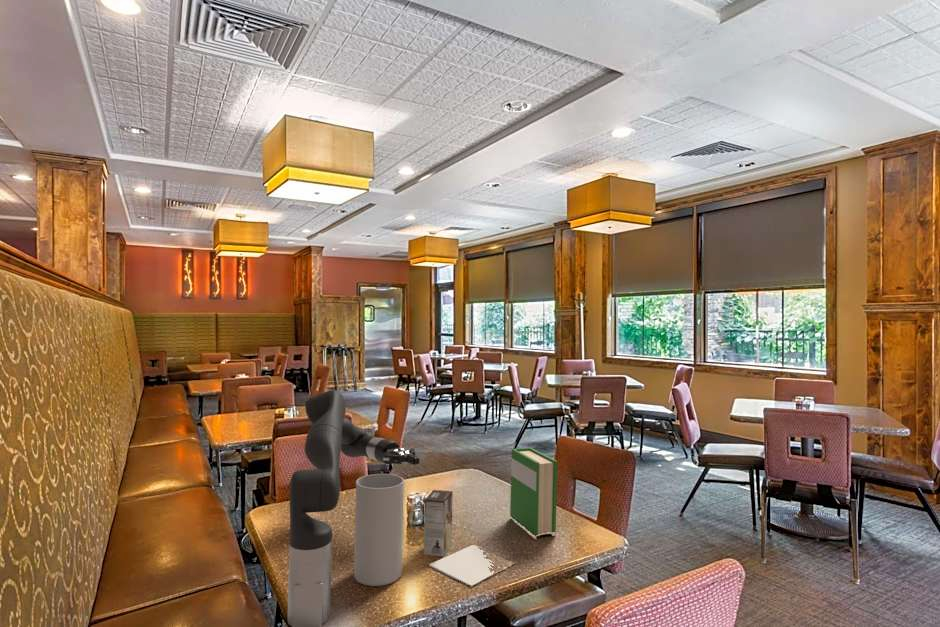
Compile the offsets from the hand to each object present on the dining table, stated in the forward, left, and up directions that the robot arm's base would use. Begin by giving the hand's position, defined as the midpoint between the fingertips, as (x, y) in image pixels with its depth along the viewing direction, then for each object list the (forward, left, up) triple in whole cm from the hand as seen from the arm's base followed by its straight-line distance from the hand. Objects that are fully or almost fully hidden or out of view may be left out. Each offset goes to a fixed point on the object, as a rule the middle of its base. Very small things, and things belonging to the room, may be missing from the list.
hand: (417, 461), depth 162 cm
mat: (-20, -14, -24) cm, 34 cm away
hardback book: (+3, -39, -24) cm, 46 cm away
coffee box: (-8, -6, -24) cm, 26 cm away
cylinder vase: (-21, +12, -24) cm, 34 cm away
